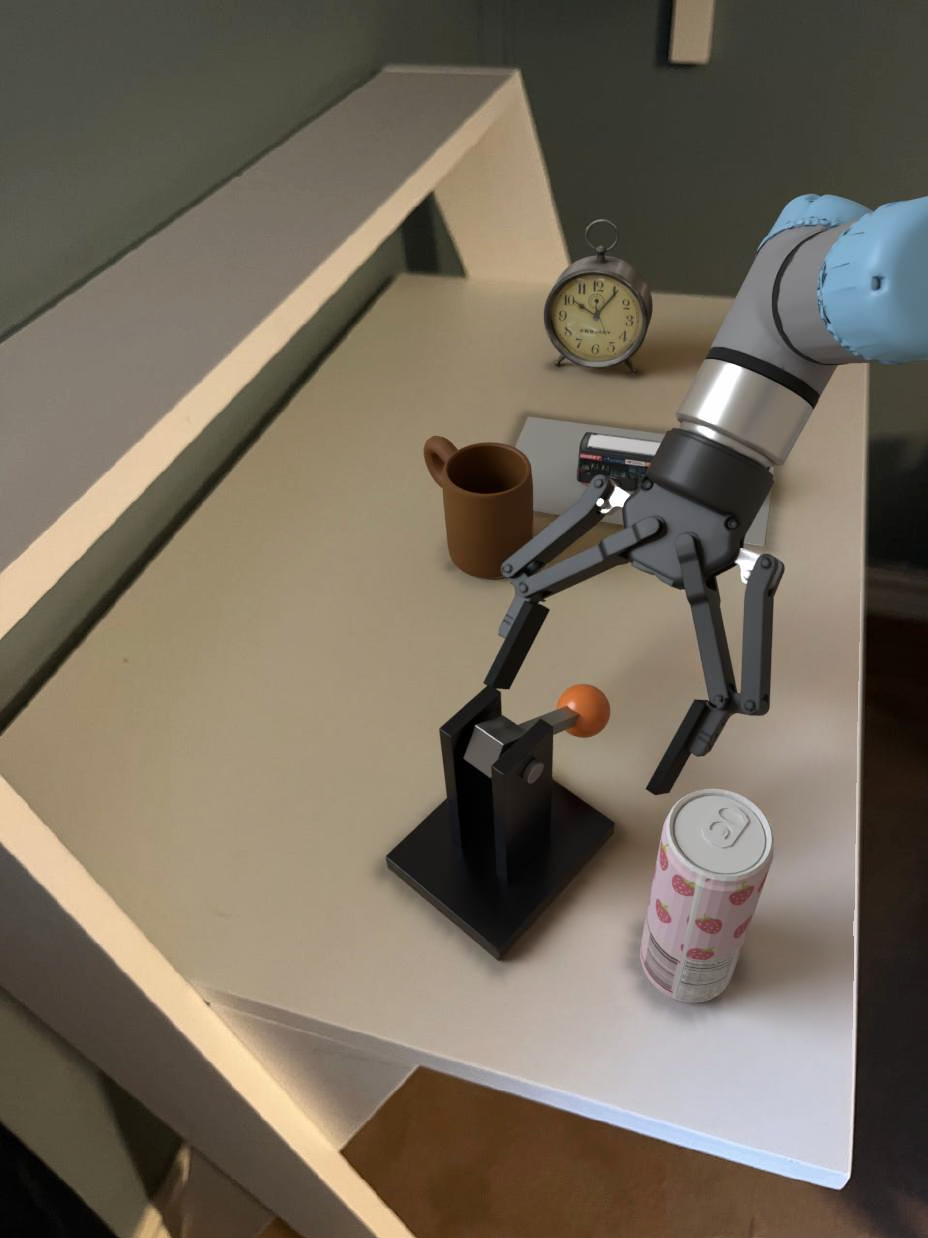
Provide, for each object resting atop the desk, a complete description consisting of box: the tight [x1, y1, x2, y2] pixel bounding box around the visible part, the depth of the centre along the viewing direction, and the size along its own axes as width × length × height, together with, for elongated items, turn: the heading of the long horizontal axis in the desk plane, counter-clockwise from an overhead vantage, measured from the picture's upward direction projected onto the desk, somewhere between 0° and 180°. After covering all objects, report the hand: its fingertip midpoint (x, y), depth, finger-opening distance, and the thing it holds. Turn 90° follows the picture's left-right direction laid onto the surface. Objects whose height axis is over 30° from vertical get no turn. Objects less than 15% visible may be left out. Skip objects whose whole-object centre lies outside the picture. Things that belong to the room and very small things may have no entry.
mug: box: [423, 435, 534, 579], centre depth 84 cm, size 12×8×9 cm, turn 40°
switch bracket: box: [385, 684, 616, 962], centre depth 60 cm, size 12×10×14 cm
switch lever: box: [464, 683, 611, 778], centre depth 61 cm, size 13×4×4 cm, turn 138°
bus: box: [514, 416, 775, 547], centre depth 91 cm, size 14×25×4 cm, turn 73°
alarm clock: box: [543, 218, 654, 375], centre depth 100 cm, size 11×5×16 cm, turn 73°
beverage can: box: [639, 788, 775, 1004], centre depth 54 cm, size 6×6×15 cm
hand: (572, 736), depth 65 cm, fingers open, 13 cm apart
